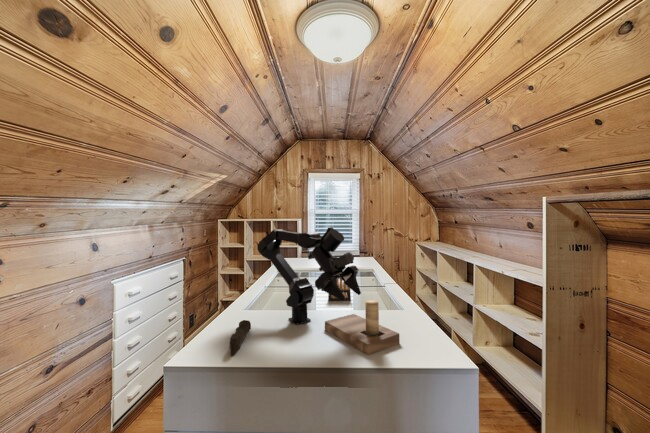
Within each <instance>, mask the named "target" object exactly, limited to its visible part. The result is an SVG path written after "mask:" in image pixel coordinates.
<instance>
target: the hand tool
mask: <svg viewBox="0 0 650 433" xmlns="http://www.w3.org/2000/svg"><path fill="white" fill-rule="evenodd" d="M251 329H252V324H251V322H250V320H247V319H246V320H245V319H243V320H241V321H240V322H238V327H236V328H235V332H234V333H232V334H231V335H230V338H229V350H230V357H231V356H234V355H235V354H236V353H237V352H238V351H239V350H240V349H241V346H242V343H243V340H245V337H246V335H247V334H248V332H250V330H251Z"/></svg>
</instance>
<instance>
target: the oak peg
mask: <svg viewBox="0 0 650 433" xmlns="http://www.w3.org/2000/svg"><path fill="white" fill-rule="evenodd" d="M364 304H365V319H366V331H365V333H366V334H367V336H368V337H370V338H375V337H378V335H379V325H380V322H379V320H380V319H379V318H380V317H379V313H380V312H379V308H380V307H379V301H376V300H366V301H365V303H364Z"/></svg>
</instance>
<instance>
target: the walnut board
mask: <svg viewBox="0 0 650 433" xmlns="http://www.w3.org/2000/svg"><path fill="white" fill-rule="evenodd" d="M324 330H325V331H326V332H327V333H329V334H331V335H333V336H334V337H337V338H338V339H340V340H341V341H343V342H345V343H347V344H348V345H350V346H352V347H353V348H354V349H355V348H356V349H357V350H359V351H360V352H362V353H364V354H366V355H367V356H369V355H373V354H375V353H377V352H378V353H379V352H380V351H382V350H385V349H388V348H390V347H391V348H392V347H393V346H396V345H398V344H399V345H400V333H399V332H397V331H394V330H393V329H390V328H388V327H385V326H382V325H381V324H379V335H378V337H375V338H370V337H368V336H367V334H366V333H365V331H366V318H364V317H362V316H360V315H357V314H355V313H352V314H349V315H344V316H340V317H337V318H333V319H329V320H325V321H324Z"/></svg>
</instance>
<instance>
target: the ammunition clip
mask: <svg viewBox="0 0 650 433" xmlns="http://www.w3.org/2000/svg"><path fill="white" fill-rule="evenodd" d="M344 282H345V281H343V280H342V279H341V278H340V279H337V285H338V287H339V288H340V290H341V292H342V293H343V295H344V297H345V299H346V300H345V301H344V302H351V301H352V299H351V298H352V296H351V289H350V288H349V287H348V286H347V285H346V284H344ZM327 294H328V295H327V296H328V298H327V299H328V302H343V301H342V300H340V299H338V298H336V297H335V296H333V295H331V294H329V293H327Z"/></svg>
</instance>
